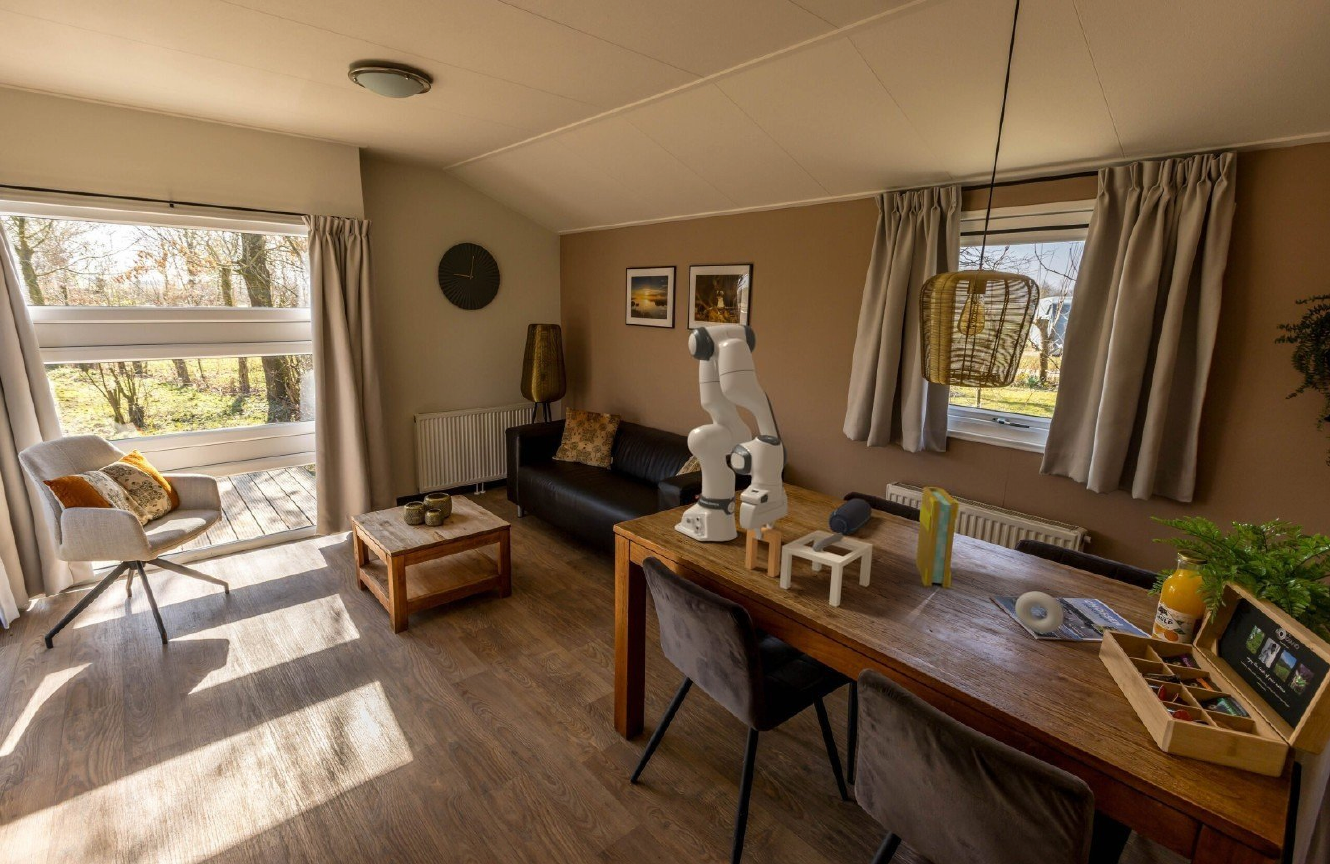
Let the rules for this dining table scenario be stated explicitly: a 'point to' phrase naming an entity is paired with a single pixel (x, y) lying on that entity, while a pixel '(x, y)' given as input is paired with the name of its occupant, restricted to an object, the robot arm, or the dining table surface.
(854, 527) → the portable speaker
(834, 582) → the white miniature table
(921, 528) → the book
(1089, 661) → the dining table surface
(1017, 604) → the donut
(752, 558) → the orange arch
